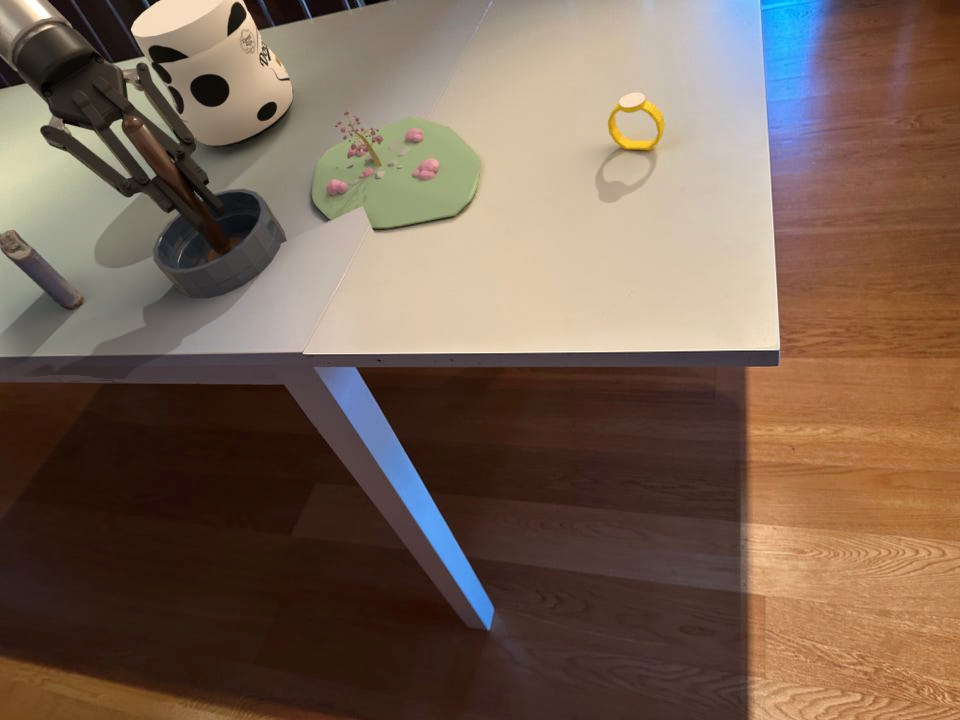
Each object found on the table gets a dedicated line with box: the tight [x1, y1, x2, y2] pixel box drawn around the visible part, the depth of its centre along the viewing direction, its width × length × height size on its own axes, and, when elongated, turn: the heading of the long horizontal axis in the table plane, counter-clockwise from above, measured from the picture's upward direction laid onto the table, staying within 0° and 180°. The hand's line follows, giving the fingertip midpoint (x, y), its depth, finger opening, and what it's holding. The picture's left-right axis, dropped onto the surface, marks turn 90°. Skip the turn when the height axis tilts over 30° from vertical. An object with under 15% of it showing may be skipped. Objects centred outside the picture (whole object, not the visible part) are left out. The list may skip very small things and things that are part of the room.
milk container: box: [130, 0, 294, 148], centre depth 97 cm, size 17×17×18 cm
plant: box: [311, 110, 482, 230], centre depth 81 cm, size 25×21×9 cm
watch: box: [607, 92, 666, 152], centre depth 73 cm, size 6×3×6 cm, turn 61°
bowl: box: [152, 188, 288, 299], centre depth 79 cm, size 14×14×6 cm
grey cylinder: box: [0, 229, 84, 310], centre depth 84 cm, size 9×3×11 cm, turn 47°
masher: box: [121, 116, 244, 263], centre depth 73 cm, size 5×5×20 cm
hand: (211, 218), depth 72 cm, fingers closed on masher, 2 cm apart
